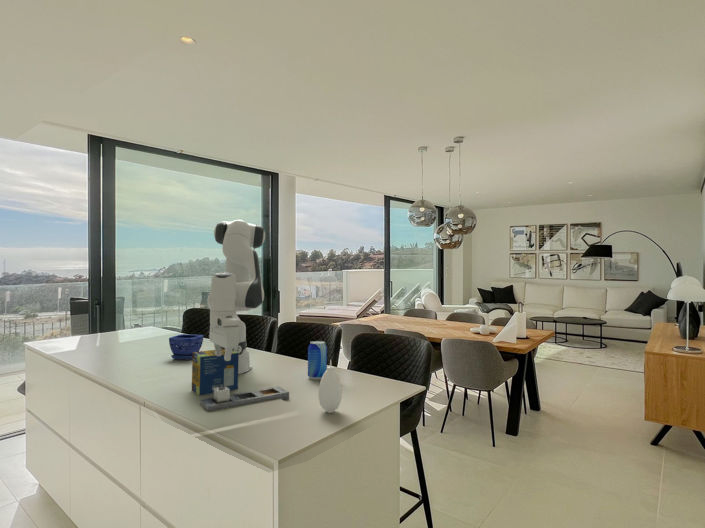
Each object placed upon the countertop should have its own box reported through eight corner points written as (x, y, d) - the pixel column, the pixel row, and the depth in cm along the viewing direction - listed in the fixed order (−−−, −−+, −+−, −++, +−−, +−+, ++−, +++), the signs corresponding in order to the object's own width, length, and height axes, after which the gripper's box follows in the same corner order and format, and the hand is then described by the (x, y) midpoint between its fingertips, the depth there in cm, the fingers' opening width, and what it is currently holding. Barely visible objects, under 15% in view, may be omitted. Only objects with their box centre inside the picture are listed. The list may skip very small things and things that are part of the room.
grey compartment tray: (200, 406, 143) (200, 399, 143) (278, 392, 161) (278, 386, 161) (207, 414, 136) (208, 406, 136) (289, 398, 154) (289, 392, 154)
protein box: (191, 391, 161) (191, 351, 162) (229, 385, 170) (230, 347, 171) (198, 398, 153) (199, 356, 153) (238, 391, 162) (239, 352, 162)
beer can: (303, 377, 183) (304, 342, 183) (317, 374, 189) (318, 339, 190) (316, 381, 178) (317, 344, 178) (330, 378, 184) (330, 342, 184)
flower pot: (181, 355, 228) (181, 333, 228) (203, 356, 226) (204, 334, 226) (167, 360, 215) (168, 337, 215) (191, 361, 213) (191, 338, 213)
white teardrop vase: (314, 414, 138) (315, 360, 138) (324, 407, 145) (325, 356, 145) (336, 417, 135) (336, 362, 135) (344, 409, 142) (345, 358, 142)
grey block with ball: (213, 403, 144) (213, 387, 144) (225, 401, 146) (225, 385, 146) (217, 407, 140) (217, 390, 140) (229, 405, 143) (229, 388, 143)
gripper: (205, 316, 150) (204, 354, 150) (224, 322, 134) (223, 364, 133) (222, 315, 154) (221, 352, 154) (242, 320, 137) (242, 362, 137)
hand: (222, 358), depth 143 cm, fingers open, 8 cm apart
